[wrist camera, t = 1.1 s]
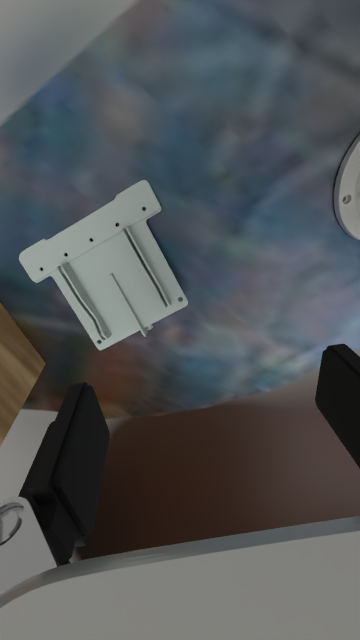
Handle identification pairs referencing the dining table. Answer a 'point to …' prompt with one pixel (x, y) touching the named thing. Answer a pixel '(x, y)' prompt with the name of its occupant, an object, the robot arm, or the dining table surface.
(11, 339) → the headboard
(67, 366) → the dining table surface
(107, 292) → the metal bracket
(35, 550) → the robot arm
